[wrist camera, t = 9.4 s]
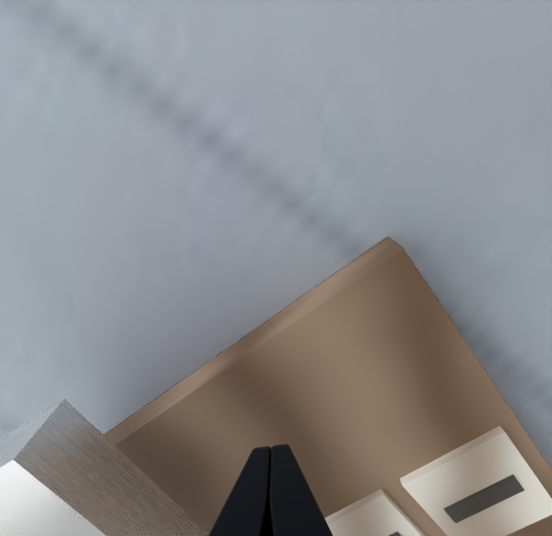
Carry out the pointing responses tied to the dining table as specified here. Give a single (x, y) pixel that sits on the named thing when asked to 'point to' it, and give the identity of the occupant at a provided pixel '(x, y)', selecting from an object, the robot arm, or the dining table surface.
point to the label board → (353, 416)
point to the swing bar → (79, 484)
